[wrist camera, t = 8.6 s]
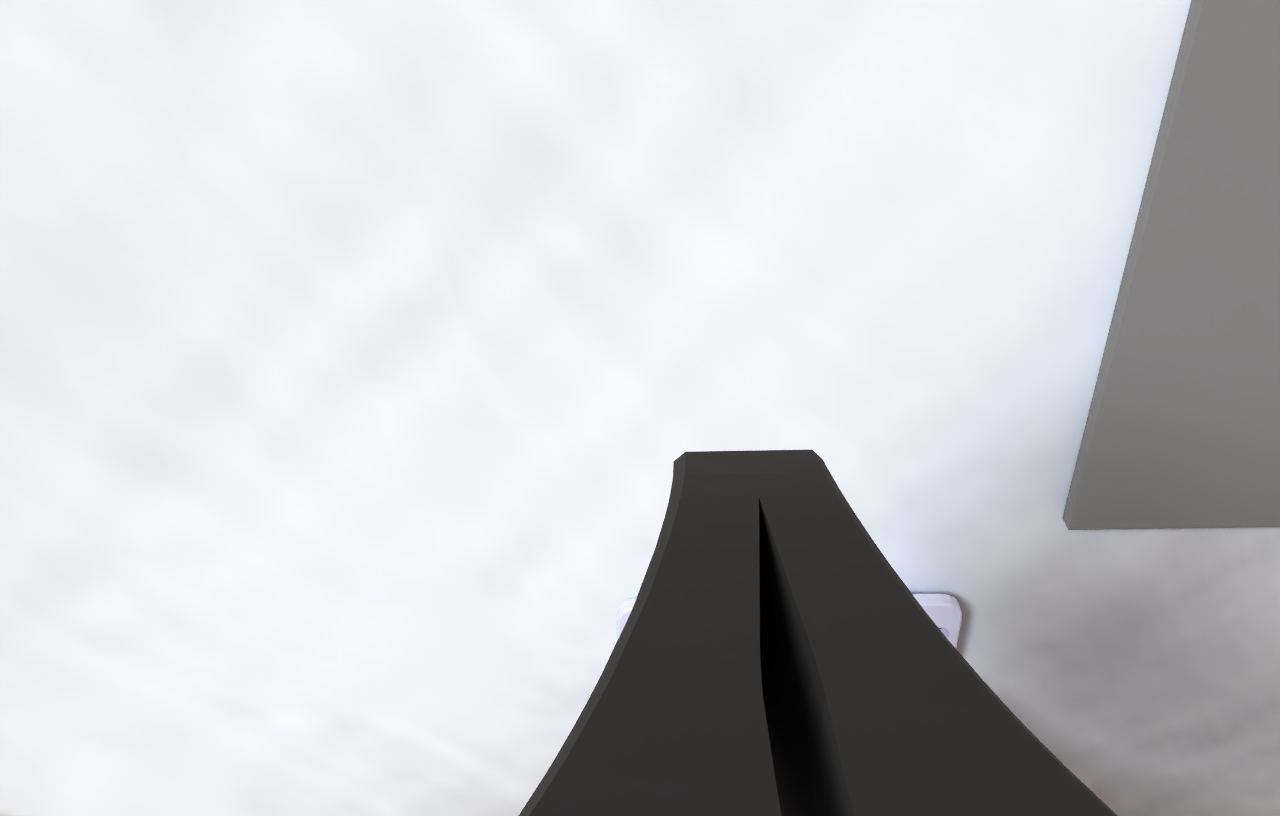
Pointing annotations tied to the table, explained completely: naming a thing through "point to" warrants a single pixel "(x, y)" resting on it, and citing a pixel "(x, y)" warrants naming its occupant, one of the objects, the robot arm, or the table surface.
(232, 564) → the table surface
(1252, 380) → the mat
